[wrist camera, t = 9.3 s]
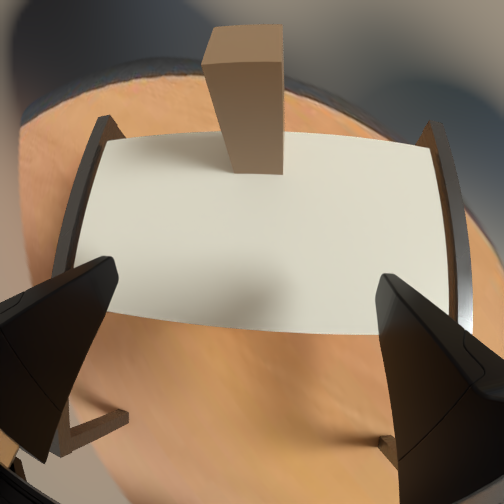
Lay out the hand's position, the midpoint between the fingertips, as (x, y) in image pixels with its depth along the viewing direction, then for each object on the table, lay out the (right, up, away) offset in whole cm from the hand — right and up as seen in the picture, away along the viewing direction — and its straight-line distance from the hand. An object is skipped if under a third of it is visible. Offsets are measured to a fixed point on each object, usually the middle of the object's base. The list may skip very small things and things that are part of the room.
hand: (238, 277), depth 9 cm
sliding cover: (+1, +2, +5) cm, 5 cm away
